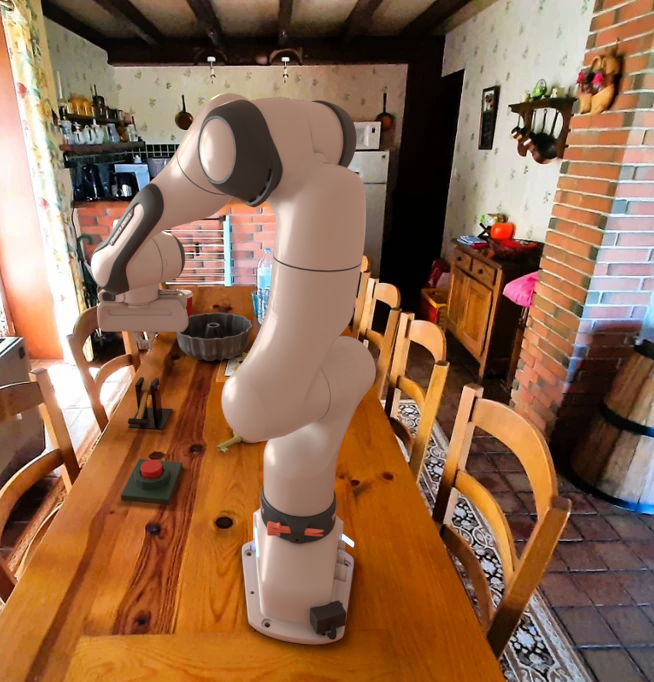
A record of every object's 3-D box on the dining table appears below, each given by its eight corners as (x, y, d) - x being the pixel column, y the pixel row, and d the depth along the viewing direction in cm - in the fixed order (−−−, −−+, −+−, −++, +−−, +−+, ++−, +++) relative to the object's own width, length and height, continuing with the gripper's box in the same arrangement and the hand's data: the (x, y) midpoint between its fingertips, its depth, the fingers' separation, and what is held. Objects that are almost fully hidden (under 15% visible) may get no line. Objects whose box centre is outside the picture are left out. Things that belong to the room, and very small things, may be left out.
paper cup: (172, 325, 193) (169, 291, 187) (190, 321, 196) (188, 288, 190) (180, 331, 186) (177, 296, 181) (198, 327, 189) (196, 292, 184)
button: (159, 480, 99) (158, 473, 98) (138, 478, 100) (137, 471, 99) (165, 467, 103) (164, 460, 102) (145, 465, 104) (144, 458, 103)
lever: (149, 427, 117) (146, 422, 115) (129, 426, 118) (126, 421, 116) (159, 386, 124) (157, 380, 122) (140, 385, 125) (138, 380, 123)
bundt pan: (223, 331, 183) (222, 306, 179) (269, 353, 163) (269, 325, 159) (162, 349, 170) (160, 323, 167) (204, 375, 150) (202, 346, 146)
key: (215, 454, 112) (215, 446, 111) (237, 428, 122) (237, 420, 121) (243, 462, 109) (243, 454, 108) (264, 434, 119) (264, 427, 118)
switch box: (169, 508, 96) (167, 492, 95) (121, 503, 98) (119, 487, 97) (182, 470, 107) (181, 455, 106) (139, 467, 109) (138, 452, 108)
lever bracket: (162, 433, 121) (158, 391, 117) (128, 430, 123) (123, 389, 119) (172, 412, 130) (169, 373, 126) (140, 410, 132) (136, 372, 128)
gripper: (189, 285, 106) (193, 343, 111) (101, 286, 110) (109, 342, 115) (182, 293, 100) (187, 355, 105) (90, 294, 104) (99, 353, 109)
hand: (146, 348), depth 110 cm, fingers closed
